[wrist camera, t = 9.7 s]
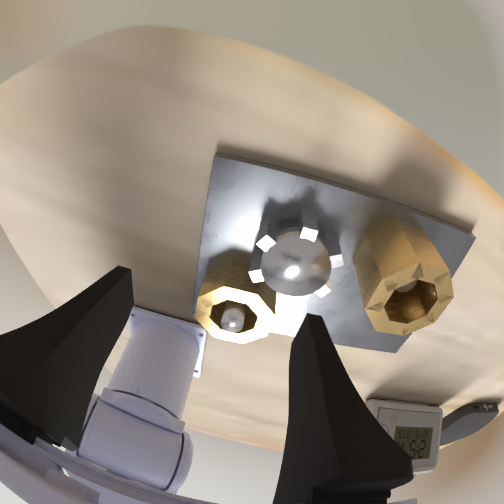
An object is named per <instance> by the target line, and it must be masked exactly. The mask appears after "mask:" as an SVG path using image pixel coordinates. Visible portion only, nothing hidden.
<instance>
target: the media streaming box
mask: <svg viewBox="0 0 504 504" xmlns="http://www.w3.org/2000/svg"><path fill="white" fill-rule="evenodd" d="M498 413H499V410H498V407H497V403H473V404H469V405H466V406H464V407H461V408H459V409H457V410H455V411H454V412H452V413H451V414H449V415H448V416H446V417H445V418H443V419H442V429H441V438H440V446H442V445H446V444H449V443H452V442H454V441H457V440H459V439H462V438H464V437H467V436H469V435H471V434H473V433H475V432H476V431H478V430H480V429H481V428H483V427H484V426H485V425H487V424H488V423H489V422H490V421H491V420H493V419H494V418H495V417H496V415H497V414H498Z"/></svg>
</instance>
